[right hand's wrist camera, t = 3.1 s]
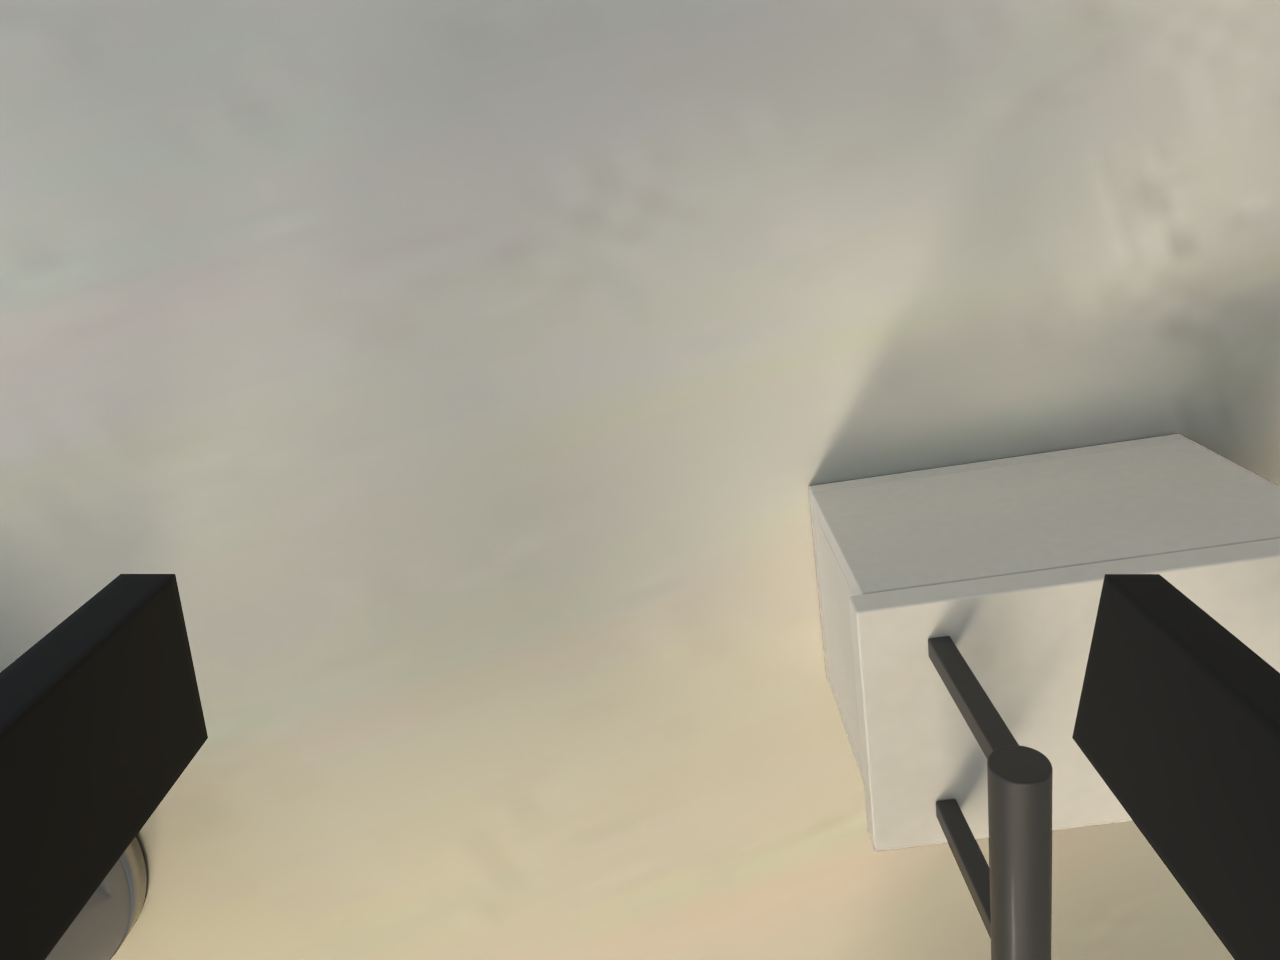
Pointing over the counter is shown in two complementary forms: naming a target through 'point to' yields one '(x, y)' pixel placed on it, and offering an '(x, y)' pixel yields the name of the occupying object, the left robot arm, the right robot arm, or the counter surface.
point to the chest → (1021, 525)
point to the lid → (1012, 714)
